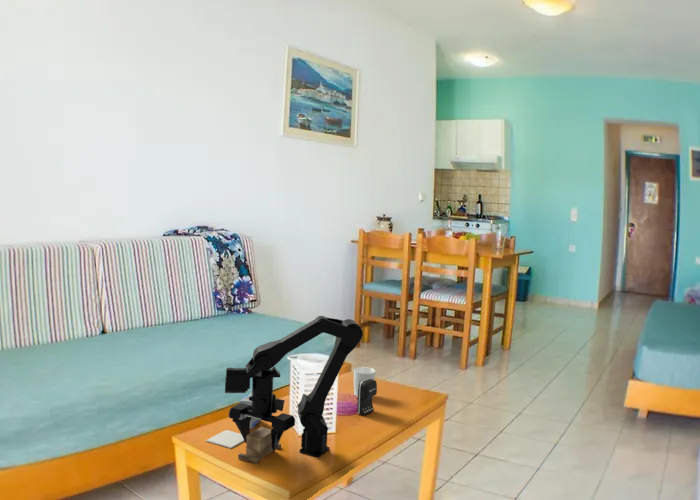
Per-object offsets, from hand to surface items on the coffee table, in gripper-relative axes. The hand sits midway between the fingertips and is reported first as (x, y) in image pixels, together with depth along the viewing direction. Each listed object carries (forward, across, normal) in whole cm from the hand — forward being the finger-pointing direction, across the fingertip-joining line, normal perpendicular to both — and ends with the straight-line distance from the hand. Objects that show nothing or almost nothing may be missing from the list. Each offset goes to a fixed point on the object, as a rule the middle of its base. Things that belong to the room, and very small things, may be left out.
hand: (260, 446), depth 166 cm
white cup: (+2, -4, -58) cm, 59 cm away
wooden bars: (+2, 0, 0) cm, 2 cm away
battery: (+2, -12, -44) cm, 46 cm away
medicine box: (+2, +15, -16) cm, 22 cm away
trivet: (+2, +13, -2) cm, 13 cm away
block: (+2, 0, 0) cm, 2 cm away
